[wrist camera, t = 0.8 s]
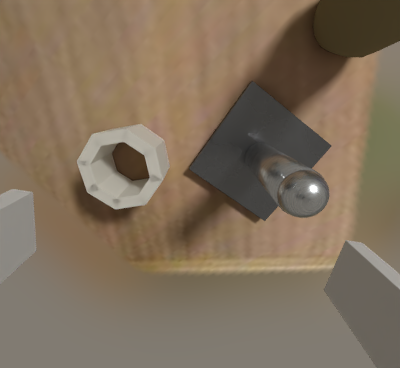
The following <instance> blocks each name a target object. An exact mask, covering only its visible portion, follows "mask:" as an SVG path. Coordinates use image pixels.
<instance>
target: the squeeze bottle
mask: <svg viewBox="0 0 400 368" xmlns="http://www.w3.org/2000/svg"><path fill="white" fill-rule="evenodd" d="M313 29H314V34H315V39H316V40H317V42H318V43H319V44H320V46H321V47H322V48H324V49H325V50H327V51H329V52H331V53H334V54H338V55H341V56H344V57H364V56H366V55H369V54H371V53H374V52H376V51H379V50H381V49H383V48H385V47H388V46H390V45H392V44H394V43H396V42H398V41H400V0H320V2H319V4H318V7H317V10H316V12H315V17H314V24H313Z"/></svg>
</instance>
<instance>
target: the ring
mask: <svg viewBox="0 0 400 368" xmlns="http://www.w3.org/2000/svg"><path fill="white" fill-rule="evenodd" d="M120 142H125V143H126V144H128V145H129V146H131V147H132V148H134V149H135V150H137V151H138V152H140V153H141V154H143V155H144V156H145V160H146V164H147V168H148V172H149V176H150V178H147V179H141V180H135V181H132V180H131V179H129V178H127V177H126V176H124V175H123V174H121V173H120V172H118V171H117V169H116V166H115V162H114V159H113V155H112V152H113V151H114V149H115V147H116V146H117V144H118V143H120ZM77 164H78V167H79V170H80V173H81V176H82V178H83V181H84V184H85V187H86V190H87V193H89V194H91V195H92V196H94V197H96V198H97V199H99V200H100V201H102V202H104V203H105V204H107V205H109V206H110V207H112V208H114V209H115V210H116V209H122V208H128V207H134V206H141V205H146V204H147V202H148V201H149V199H150V198H151V196H152V195H153V194H154V192H155V191H156V189H157V188H158V186H159V185H160V183H161V182H162V181H163V179H164V177H165V175H166V173H167V171H168V169H169V167H170V165H169V160H168V155H167V150H166V146H165V141H164V140H163V139H162V138H160V137H159V136H158V135H156V134H155V133H153V132H152V131H150V130H149V129H148V128H146V127H145V126H143V125H142V124H138V125H132V126H127V127H121V128H115V129H111V130H107V131H103V132H99V133H95V134H92V135H91V137H90V139H89V141H88V143H87V144H86V146H85V148H84V150H83V152H82V153H81V155H80V157H79V159H78V161H77Z"/></svg>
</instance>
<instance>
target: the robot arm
mask: <svg viewBox="0 0 400 368" xmlns="http://www.w3.org/2000/svg"><path fill="white" fill-rule="evenodd" d="M34 252H36V237H35V221H34V202H33V192H29V191H23V190H16V189H12V190H9V191H7V192H5V193H3V194H1V195H0V284H1V283H2V282H3V281H4V280H5V279H6V278H7V277H8V276H9V275H10V274H12V273H13V272H14V271H15V270H16V269H17V268H18V267H19V266H20V265H21V264H22V263H24V262H25V261H26V260H27V259H28V258H29V257H30V256H31V255H32V254H33V253H34ZM324 291H325V293H326V294H327V296H328V297H329V298H330V300H331V301H332V303H333V304H334V306H335V307H336V309H337V310H338V312H339V313H340V314H341V316H342V317H343V319H344V320H345V322H346V323H347V325H348V326H349V328H350V329H351V330H352V332H353V333H354V335H355V336H356V338H357V339H358V341H359V342H360V344H361V345H362V347H363V348H364V350H365V351H366V352H367V354H368V355H369V357H370V358H371V360H372V361H373V363H374V364H375V366H376V367H377V368H400V274H399V273H398V272H396V271H395V270H394V269H393V268H392V267H390V266H389V265H388V264H387V263H386V262H384V261H383V260H382V259H381V258H380V257H379V256H377V255H376V254H375V253H374V252H373V251H371V250H370V249H369V248H368V247H366V246H365V245H364V244H363V243H360V242H354V241H347V240H346V241H345V243H344V245H343V248H342V250H341V252H340V255H339V257H338V259H337V261H336V264H335V266H334V268H333V270H332V273H331V275H330V277H329V279H328V282H327V284H326V286H325V288H324Z"/></svg>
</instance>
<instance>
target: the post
mask: <svg viewBox="0 0 400 368" xmlns="http://www.w3.org/2000/svg"><path fill="white" fill-rule="evenodd" d="M330 147H331V145H330V144H329V143H328V142H326V141H325V140H324V139H323V138H321V137H320V136H319V135H318V134H317V133H315V132H314V131H313V130H312V129H310V128H309V127H308V126H307V125H306V124H304V123H303V122H302V121H301V120H299V119H298V118H297V117H296V116H295V115H293V114H292V113H291V112H290V111H288V110H287V109H286V108H285V107H284V106H282V105H281V104H280V103H279V102H277V101H276V100H275V99H274V98H273V97H271V96H270V95H269V94H268V93H267V92H265V91H264V90H263V89H262V88H260V87H259V86H258V85H257V84H256V83H254V82H253V81H252V82H250V83H249V85H248V86H247V87H246V89H245V90H244V91H243V93H242V94H241V96H240V97H239V98H238V100H237V101H236V103H235V104H234V105H233V107H232V108H231V110H230V111H229V112H228V114H227V115H226V117H225V118H224V119H223V121H222V122H221V124H220V125H219V126H218V128H217V129H216V130H215V132H214V133H213V135H212V136H211V137H210V139H209V140H208V142H207V143H206V144H205V146H204V147H203V149H202V150H201V151H200V153H199V154H198V156H197V157H196V158H195V160H194V161H193V162H192V164H191V165H190V167H189V169H190V170H191V171H193V172H194V173H195V174H197V175H198V176H200V177H201V178H203V179H204V180H206V181H207V182H209V183H210V184H212V185H213V186H214V187H216V188H217V189H219V190H220V191H222V192H223V193H225V194H226V195H228V196H229V197H231V198H232V199H233V200H235V201H236V202H238V203H239V204H241V205H242V206H244V207H245V208H247V209H248V210H250V211H251V212H252V213H254V214H255V215H257V216H258V217H260V218H261V219H263V220H264V221H265V220H266V219H267V218H268V217H269V216H270V215H271V213H272V212H273V211H274V210H275V209H276V208H277V207H278V206H279V207H280V208H281V209H282V210H283V211H284V212H286V213H287V214H290V215H292V216H295V217H299V218H307V217H311V216H314V215H316V214H318V213H319V212H321V211H322V210H323V209H324V208H325V206H326V205H327V202H328V200H329V187H328V185H327V183H326V181H325V180H324V178H323V177H322V175H320V174H319V173H318V172H316V171H314V170H313V169H312V167H313V166H314V165H315V164H316V163H317V162H318V161H319V160H320V158H321V157H322V156H323V155H324V154H325V153H326V152H327V151H328V149H329V148H330Z"/></svg>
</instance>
